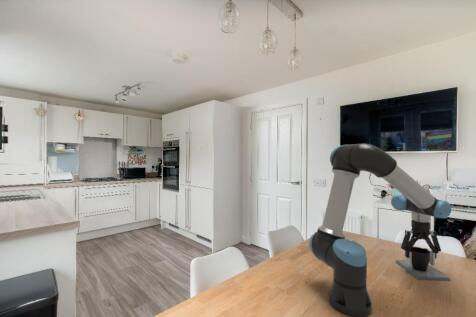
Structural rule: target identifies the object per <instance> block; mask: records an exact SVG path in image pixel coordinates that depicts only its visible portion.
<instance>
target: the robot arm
mask: <svg viewBox="0 0 476 317" xmlns="http://www.w3.org/2000/svg"><path fill="white" fill-rule="evenodd" d="M329 162H330V165H331V167H332V169H331V171H332V173H333V179H332V184H331V188H330V192H329V196H328V198H327V199H328V201H327V204H326V208H325V213H324V216H323V220H322V224H321V225H320V226H318V228H317V230H316V231H315V232H314V233H313V234H312V235H311V236H310V238H309V242H308V243H309V249H310V252H311V253H312V255H313V256H315V257H316V259H318V260H319V261H321V262H323V263H324V264H325V265H327V266H328V267H330V268H331V269H332V270H333V273H332V275H333V278H332V279H333V280H332V281H333V282H332V284H331V287H330V288H329V293H328V302H329V304H330V306H331V307H332V308H334V309H335V310H336V311H338V312H340V313H342V314H344V315H347V316H350V317H367V316H370V315H371V314H372V312H373V304H372V300H371V297H370V294H369V291H368V289H367V278H368V275H367V268H368V266H367V264H368V258H367V251H366V249H365V247H364V246H363V245H362V244H360V243H358V242H356V241H354V240H350V239H347V238H346V235H345V234H344V231H343V230H344V225H345V221H346V217H347V213H348V209H349V205H350V200H351V196H352V192H353V187H354V183H355V180H356V179H358V178H359V177H360V174H361V172H362V171H363V172H367V173H370V174H373V175H374V176H375V177H377V178H381V179H383V180H384V181H385V182H386V183H388V184H389V185H390V186H392V187H393V189H394V190H396V191H398V192H399V194H396V195H395V194H394V195H393V196H392V197H391V199H390V204H391V206H392V208H393V209H395V210H397V211H401V212H402V211H408V212H411V224H410V225H411V230H407V229H405V230H404V236H403V240H402V242H401V245H400V249H401V250H403V251H404V256H405V258H406V260H407V263H408V264H409V265H412V252H410V250H411V249H412V247H415V244H416V243H417V242H418V241H419V240H424V241H425V242H426V244H427V246H428V247H429V249H430V250H429V251H430V261H429V265H430V266H432V267H435V266H436V259H437V258H438V257H437V256H438V255H437V254H439V253H441V252H442V249H441V246H440V242H439V239H438V232H437V231H434V230H431V217H434V218H439V219H447V218H448V217H450V215H451V213H452V205H451V204H450V203H449V202H448V201H447V200H443V199H437V198H436V197H435V196H434V195H433V194H432V193H431V192H430V191H429V190H427V189H426V188H425V187H424V186H422V185H421V184H420V183H419V182H417V181H416V179H414V178H413V177H412V176H411V175H410V174H408V173H407V172H406V171H405V170H404V169H403V168H401V167H400V166H399V165H398V163H397V160H396V159H395V158H394V157H393V156H392V155H390V154H389V153H387V152H386V151H384V150H383V149H381V148H379V147H377V146H375V145H373V144H370V143H365V142H364V143H356V144H355V143H353V144H343V145H339V146H336V147H335V148H333V149H332V151H331V153H330V155H329Z"/></svg>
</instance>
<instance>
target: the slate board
mask: <svg viewBox="0 0 476 317" xmlns="http://www.w3.org/2000/svg"><path fill="white" fill-rule="evenodd" d="M395 263H396V265H397V264H398V265H399V266H400V267H401V268H402V269H404V270H405V271H406V272H407V273H409V274H410V275H411V276H413V277H414V278H415V279H416V280H418V281H419V280H421V281H422V280H425V281H441V282H442V281H446V282H450V281H451V277H450V276H447V275H446V274H445V273H443V272H441V271H440V270H438V269H436V268H435V267H434V266H432V265H431V264H429V265H428V267H427V270H426V271H418V270H416V269H414V268H413V267H412V265H409V264H408V263H407V259H406V260H401V259H395Z"/></svg>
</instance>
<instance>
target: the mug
mask: <svg viewBox="0 0 476 317" xmlns="http://www.w3.org/2000/svg"><path fill="white" fill-rule="evenodd" d="M430 251H431V250H429V249H428V248H423V247H417V246H413V247H412V249H411V250H410V252H412V267H413V268H414V269H416V270H418V271H426V270H427V267H428V265H430V264H429V261H430Z"/></svg>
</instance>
